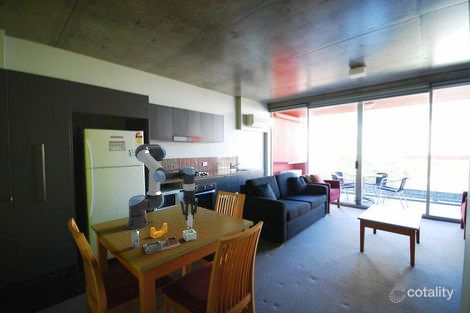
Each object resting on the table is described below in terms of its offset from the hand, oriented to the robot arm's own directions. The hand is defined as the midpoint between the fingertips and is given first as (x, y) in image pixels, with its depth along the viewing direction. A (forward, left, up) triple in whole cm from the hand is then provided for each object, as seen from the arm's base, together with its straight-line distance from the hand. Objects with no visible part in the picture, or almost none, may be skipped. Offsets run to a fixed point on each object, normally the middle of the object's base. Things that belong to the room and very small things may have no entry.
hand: (189, 224), depth 140 cm
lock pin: (0, 0, -2) cm, 2 cm away
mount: (+2, -19, -10) cm, 21 cm away
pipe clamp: (-18, -16, -10) cm, 26 cm away
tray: (0, 0, -10) cm, 10 cm away
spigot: (-6, -33, -10) cm, 35 cm away
